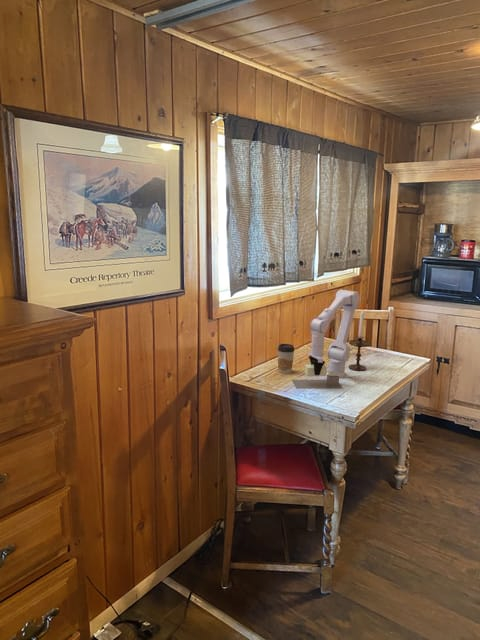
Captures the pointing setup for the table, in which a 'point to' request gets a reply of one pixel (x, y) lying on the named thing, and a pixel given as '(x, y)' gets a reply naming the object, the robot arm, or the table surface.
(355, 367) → the candlestick
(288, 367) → the coffee cup
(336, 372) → the bar
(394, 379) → the table surface
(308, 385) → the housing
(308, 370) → the cream rectangular block
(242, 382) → the table surface
